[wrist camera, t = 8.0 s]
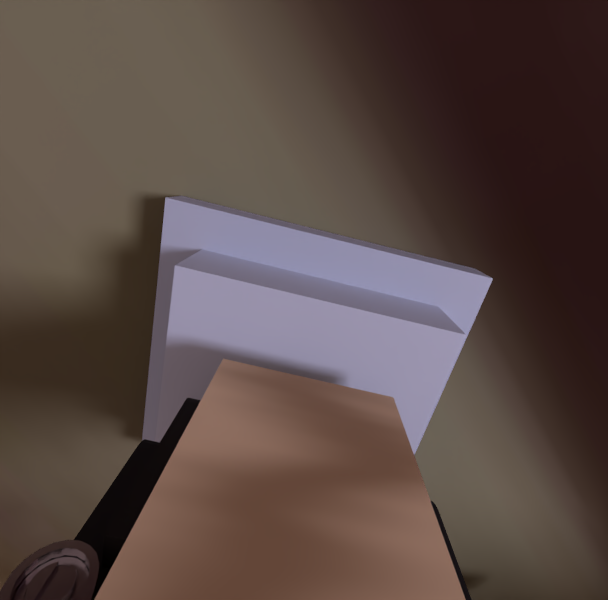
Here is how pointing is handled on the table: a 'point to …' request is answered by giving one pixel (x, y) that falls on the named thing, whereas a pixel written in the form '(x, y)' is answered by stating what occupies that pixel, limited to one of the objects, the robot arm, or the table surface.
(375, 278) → the plinth
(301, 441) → the beech block
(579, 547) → the table surface
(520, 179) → the table surface
